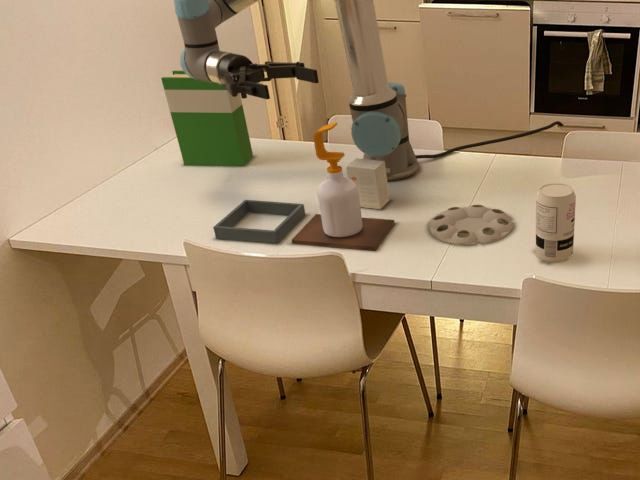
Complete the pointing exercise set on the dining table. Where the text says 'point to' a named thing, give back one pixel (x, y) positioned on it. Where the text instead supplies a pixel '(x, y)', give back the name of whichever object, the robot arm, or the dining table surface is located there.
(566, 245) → the supplement can
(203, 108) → the hardback book
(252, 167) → the dining table surface
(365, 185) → the small box
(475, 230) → the paint palette
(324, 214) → the soap bottle
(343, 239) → the walnut board
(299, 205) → the square frame
